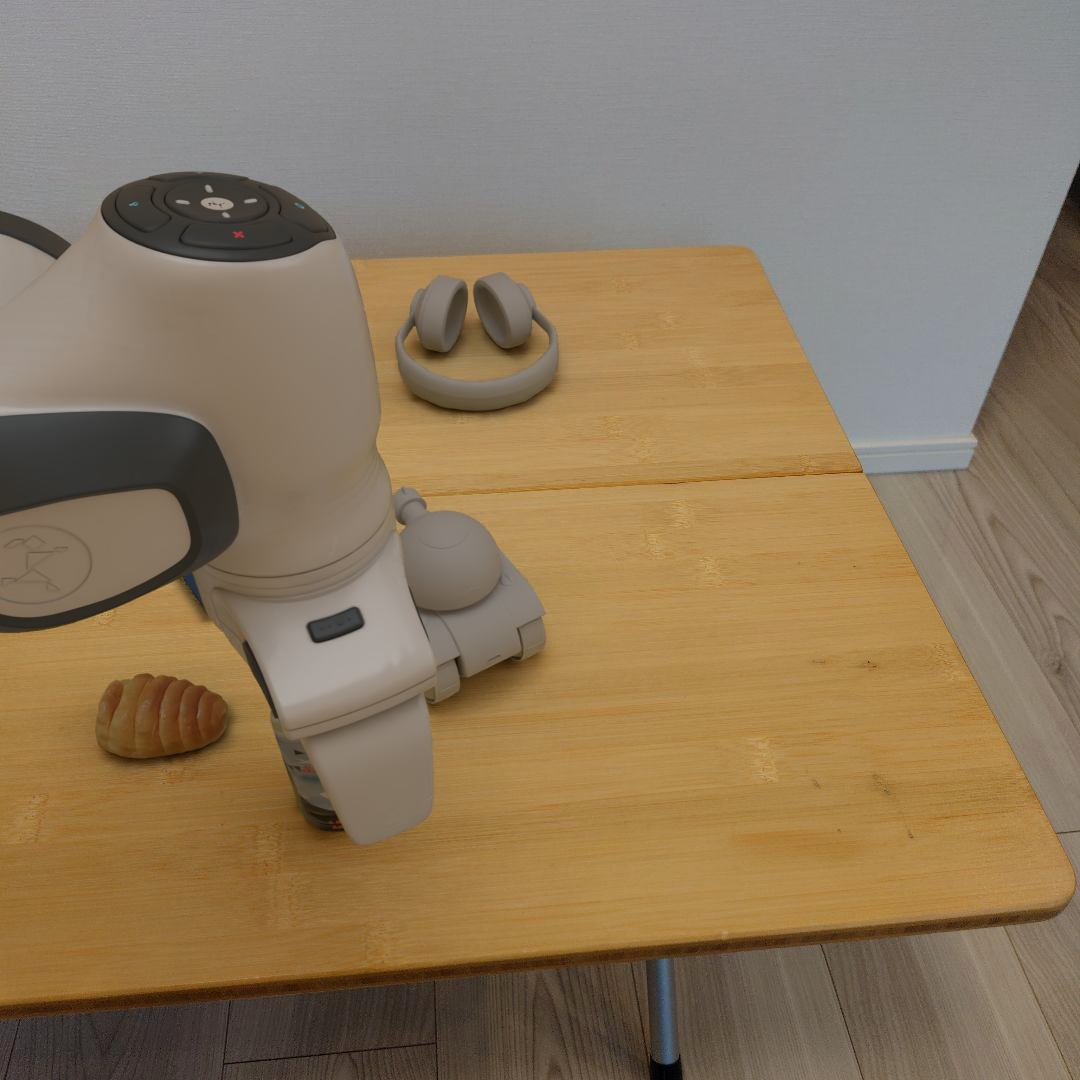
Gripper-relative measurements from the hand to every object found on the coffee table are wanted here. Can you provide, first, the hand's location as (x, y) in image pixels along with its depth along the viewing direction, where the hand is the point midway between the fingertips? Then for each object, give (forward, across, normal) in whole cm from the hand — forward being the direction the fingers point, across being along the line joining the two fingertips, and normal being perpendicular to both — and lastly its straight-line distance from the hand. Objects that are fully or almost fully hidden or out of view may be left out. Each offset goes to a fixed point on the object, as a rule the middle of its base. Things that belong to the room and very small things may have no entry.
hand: (339, 731), depth 51 cm
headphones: (+19, -55, +32) cm, 66 cm away
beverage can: (+19, -8, 0) cm, 21 cm away
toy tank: (+19, -19, +13) cm, 30 cm away
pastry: (+19, -20, -10) cm, 30 cm away
